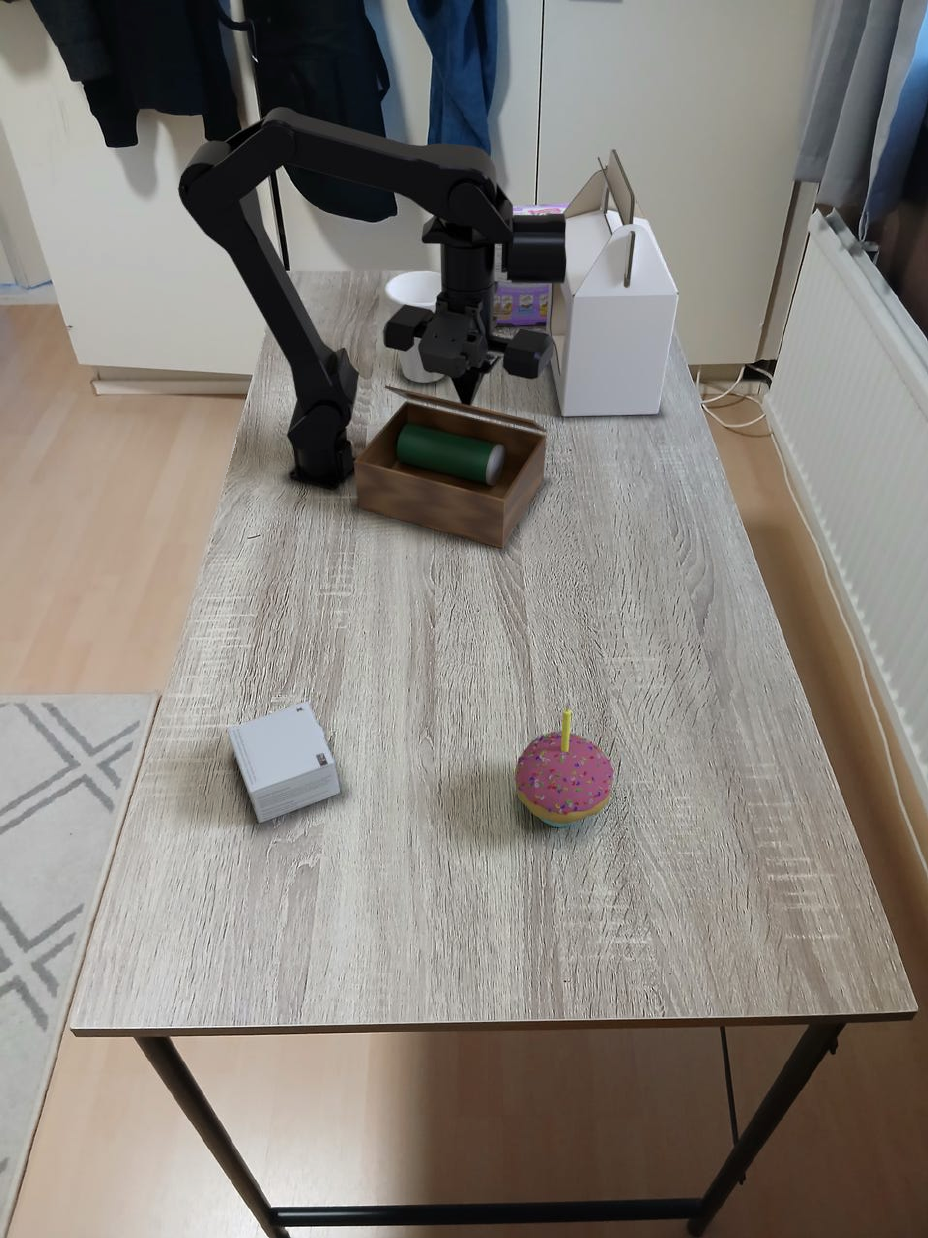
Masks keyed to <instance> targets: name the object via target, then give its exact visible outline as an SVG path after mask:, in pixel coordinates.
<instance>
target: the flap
mask: <svg viewBox="0 0 928 1238" xmlns="http://www.w3.org/2000/svg"><path fill="white" fill-rule="evenodd" d="M384 389H387V390H388V391H390V392H392V393H394V394H396V395H397V396H400V397H401V398H404V399H407V400H411V401H415V402H419V403H423V404H428V405H431V406H435V407H439V408H443V409H448V410H452V411H455V412H461V413H464V414H468V415H473V416H478V417H481V418H484V419H488V420H493V421H498V422H501V423H505V424H509V425H510V424H511V425H514V426H519V427H522V428H527V429H530V430H535V431H538V432H543V433H547V429H546V428H545V427H544V426H542V425H540V424H539V423H538V422H536V421H535V420H533V419H529V418H525V417H520V416H516V415H512V414H508V413H505V412H499V411H496V410H491V409H487V408H483V407H478V406H474V405H466V404H462V403H461V402H457V401H453V400H450V399H445V398H442V397H441V398H440V397H437V396H432V395H429V394H424V393H420V392H416V391H412V390H409V389H408V390H407V389H404V388H399V387H395V386H390V385H386V384H385V385H384Z"/></svg>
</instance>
